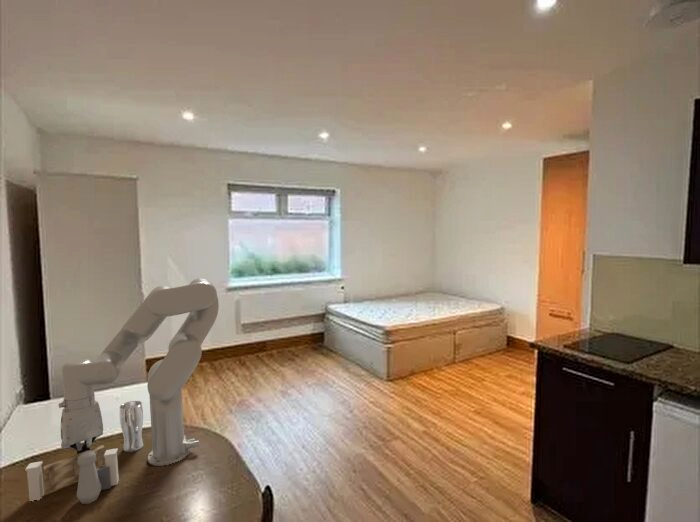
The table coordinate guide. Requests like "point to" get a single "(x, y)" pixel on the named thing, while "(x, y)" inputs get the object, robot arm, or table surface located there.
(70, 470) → the gate
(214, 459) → the table surface
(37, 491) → the gate posts
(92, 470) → the salt shaker
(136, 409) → the beer glass
